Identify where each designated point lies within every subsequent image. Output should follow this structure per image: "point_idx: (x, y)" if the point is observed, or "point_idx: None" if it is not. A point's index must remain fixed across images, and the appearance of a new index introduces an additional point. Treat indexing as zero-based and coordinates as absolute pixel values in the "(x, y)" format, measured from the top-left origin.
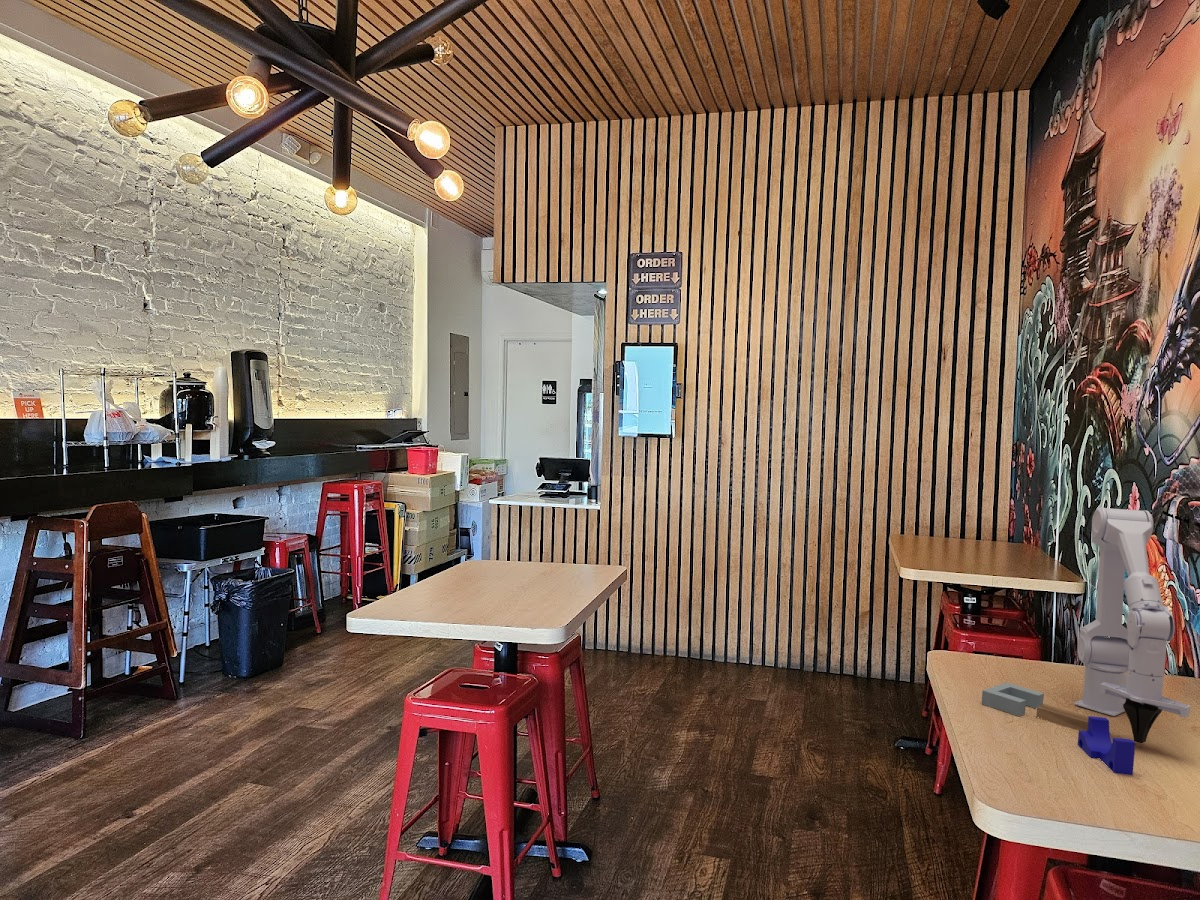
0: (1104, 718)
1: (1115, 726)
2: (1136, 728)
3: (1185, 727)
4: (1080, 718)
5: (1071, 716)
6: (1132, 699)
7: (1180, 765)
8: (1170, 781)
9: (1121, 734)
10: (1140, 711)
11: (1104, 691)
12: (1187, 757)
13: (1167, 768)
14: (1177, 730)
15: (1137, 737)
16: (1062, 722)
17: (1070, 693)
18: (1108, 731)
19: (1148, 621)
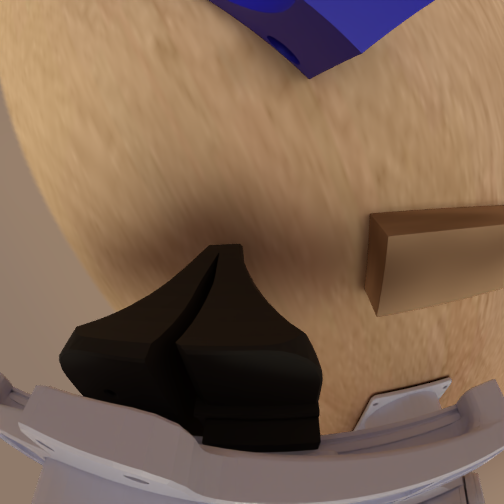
0: (357, 21)
1: (357, 353)
2: (218, 272)
3: None
4: (465, 250)
5: (489, 240)
6: (116, 422)
7: (70, 206)
8: (27, 38)
9: (324, 312)
10: (138, 339)
11: (481, 407)
12: (111, 298)
13: (65, 128)
14: None
15: (220, 251)
16: (490, 211)
17: None
18: (278, 7)
19: None
